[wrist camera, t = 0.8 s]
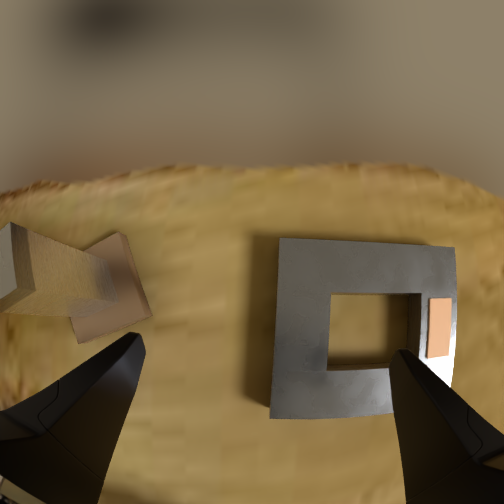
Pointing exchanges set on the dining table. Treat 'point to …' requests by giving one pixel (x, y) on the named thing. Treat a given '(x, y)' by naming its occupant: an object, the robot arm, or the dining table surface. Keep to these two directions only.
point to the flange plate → (318, 320)
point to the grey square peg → (50, 276)
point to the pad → (126, 287)
